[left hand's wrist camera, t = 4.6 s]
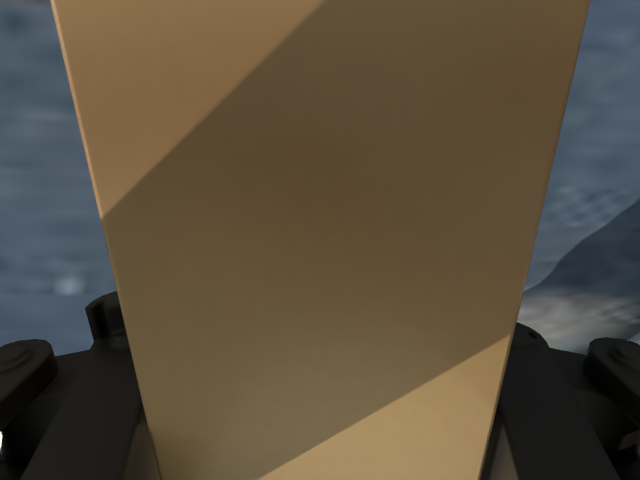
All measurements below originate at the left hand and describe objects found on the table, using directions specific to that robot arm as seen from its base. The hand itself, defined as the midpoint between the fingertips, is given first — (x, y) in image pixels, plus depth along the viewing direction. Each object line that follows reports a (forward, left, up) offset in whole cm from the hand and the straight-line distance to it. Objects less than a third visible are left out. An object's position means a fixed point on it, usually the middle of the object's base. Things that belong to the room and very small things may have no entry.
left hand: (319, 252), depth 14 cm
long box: (0, +10, -1) cm, 10 cm away
